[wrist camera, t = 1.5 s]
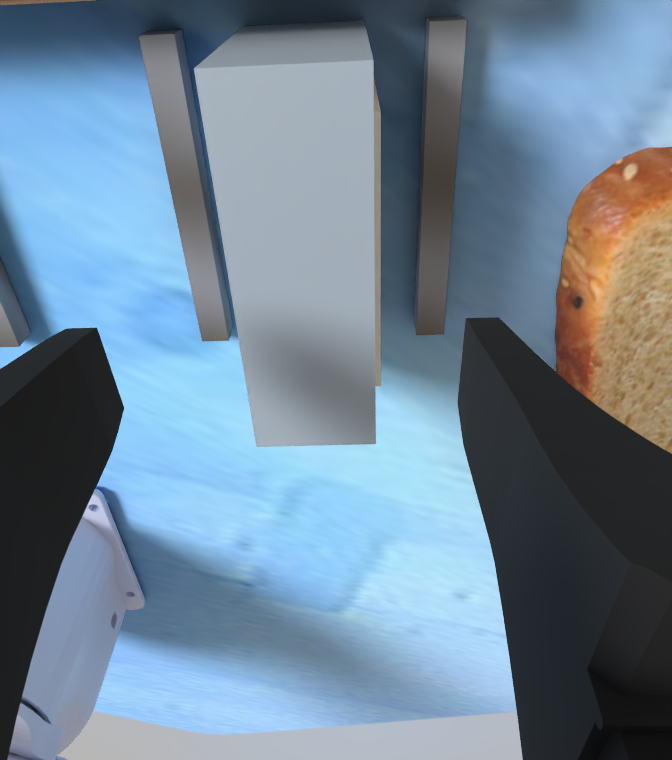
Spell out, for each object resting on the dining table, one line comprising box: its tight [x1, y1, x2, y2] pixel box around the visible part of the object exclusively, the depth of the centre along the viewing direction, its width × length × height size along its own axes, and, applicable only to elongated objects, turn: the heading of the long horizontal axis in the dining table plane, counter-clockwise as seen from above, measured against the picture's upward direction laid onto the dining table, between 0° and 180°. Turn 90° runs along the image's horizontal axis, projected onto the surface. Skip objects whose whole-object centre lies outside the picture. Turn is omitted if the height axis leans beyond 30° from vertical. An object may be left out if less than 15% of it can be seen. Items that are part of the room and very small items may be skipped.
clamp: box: [0, 0, 467, 347], centre depth 18 cm, size 13×18×4 cm
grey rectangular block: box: [194, 20, 381, 447], centre depth 17 cm, size 10×4×7 cm, turn 3°
